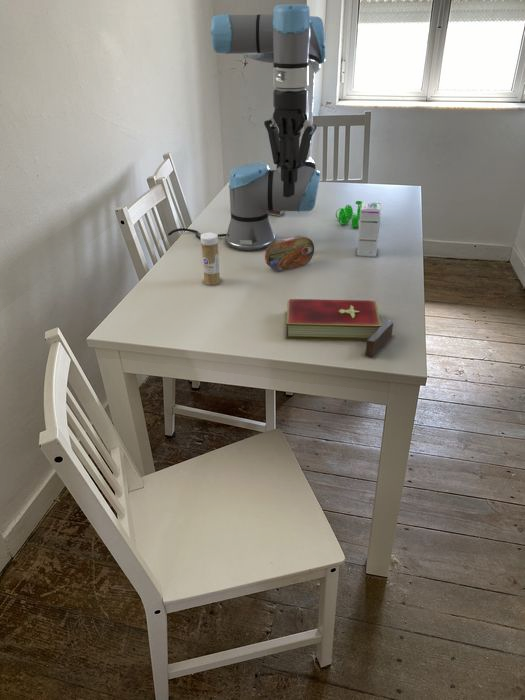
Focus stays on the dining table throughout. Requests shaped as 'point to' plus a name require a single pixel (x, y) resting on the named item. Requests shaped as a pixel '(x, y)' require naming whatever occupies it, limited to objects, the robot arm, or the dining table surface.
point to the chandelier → (349, 215)
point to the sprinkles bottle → (210, 258)
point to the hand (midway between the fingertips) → (288, 195)
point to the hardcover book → (331, 319)
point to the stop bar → (379, 338)
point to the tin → (289, 253)
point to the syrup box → (368, 229)
